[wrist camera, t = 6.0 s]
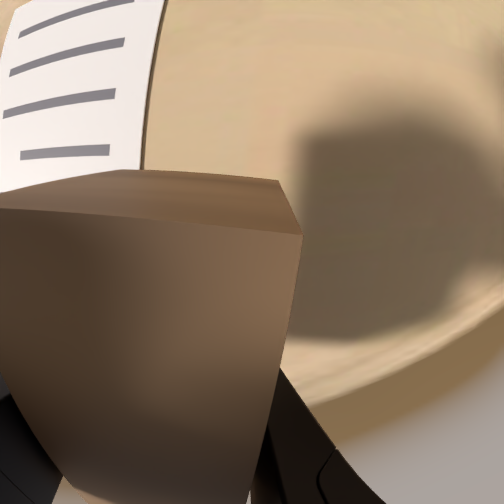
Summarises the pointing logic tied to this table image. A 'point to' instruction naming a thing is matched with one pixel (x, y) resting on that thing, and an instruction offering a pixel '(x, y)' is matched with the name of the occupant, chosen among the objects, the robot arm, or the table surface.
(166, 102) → the table surface
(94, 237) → the walnut block
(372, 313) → the table surface
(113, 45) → the letter
